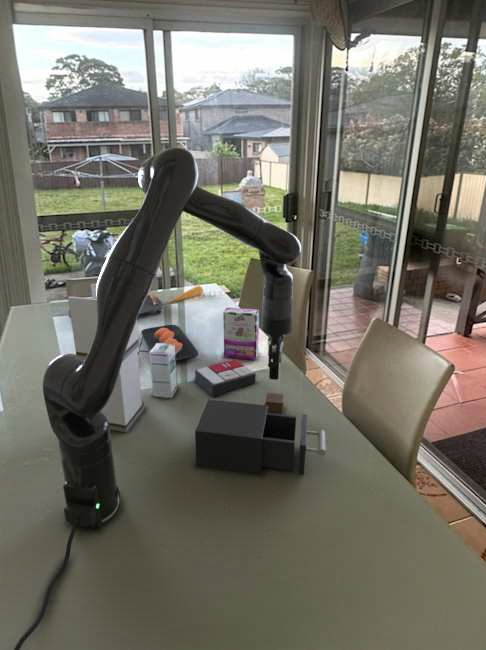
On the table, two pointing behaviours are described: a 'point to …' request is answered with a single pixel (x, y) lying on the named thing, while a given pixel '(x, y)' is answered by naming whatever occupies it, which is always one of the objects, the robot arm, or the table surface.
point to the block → (275, 403)
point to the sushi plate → (169, 340)
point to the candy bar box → (241, 333)
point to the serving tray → (149, 305)
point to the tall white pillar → (127, 388)
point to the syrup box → (163, 370)
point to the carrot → (189, 294)
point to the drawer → (287, 442)
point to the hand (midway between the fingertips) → (275, 370)
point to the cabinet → (231, 436)
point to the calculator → (224, 377)
